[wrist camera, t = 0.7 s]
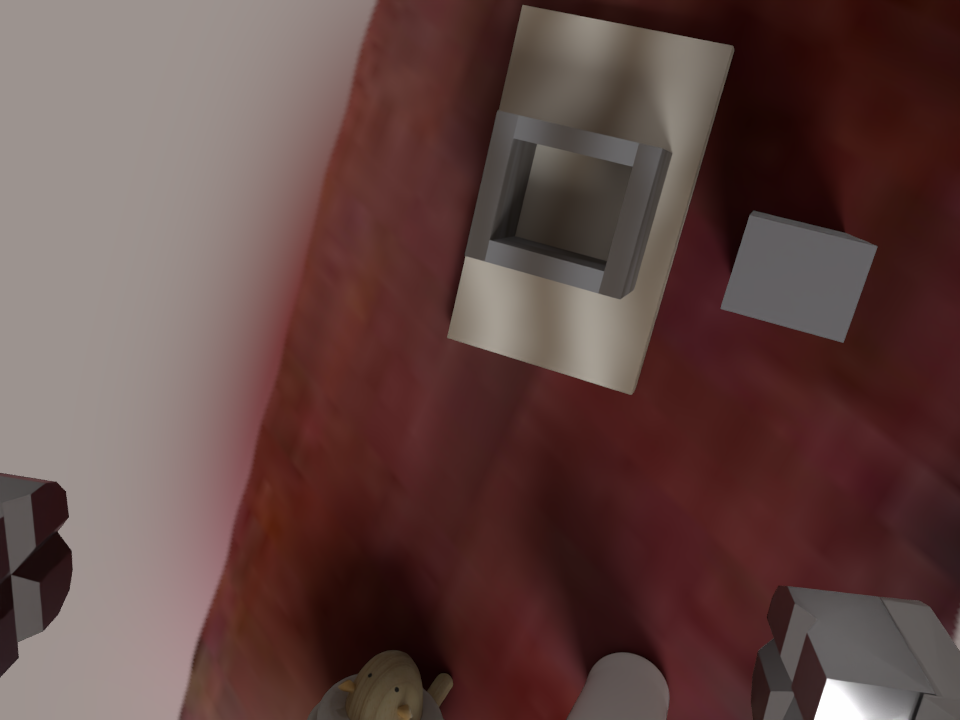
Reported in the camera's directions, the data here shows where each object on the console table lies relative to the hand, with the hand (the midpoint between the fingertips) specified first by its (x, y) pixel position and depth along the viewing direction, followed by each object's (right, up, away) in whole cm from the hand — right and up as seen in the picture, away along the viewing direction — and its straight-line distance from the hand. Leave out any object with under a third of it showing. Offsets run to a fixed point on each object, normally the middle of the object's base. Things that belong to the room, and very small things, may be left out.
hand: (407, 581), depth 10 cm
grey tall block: (+18, +8, +38) cm, 43 cm away
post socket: (+7, +12, +41) cm, 43 cm away
